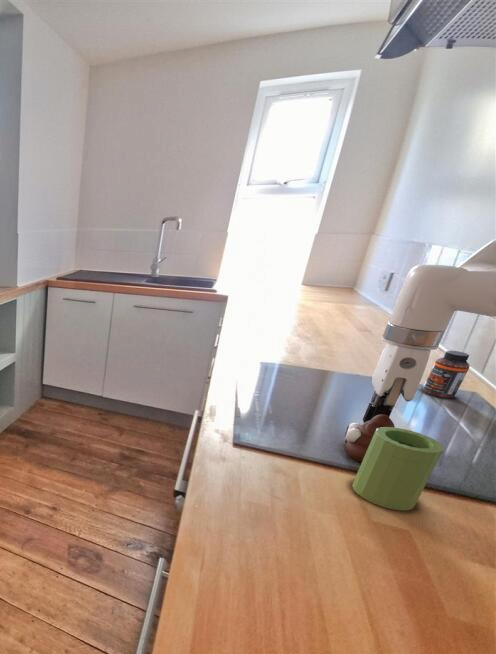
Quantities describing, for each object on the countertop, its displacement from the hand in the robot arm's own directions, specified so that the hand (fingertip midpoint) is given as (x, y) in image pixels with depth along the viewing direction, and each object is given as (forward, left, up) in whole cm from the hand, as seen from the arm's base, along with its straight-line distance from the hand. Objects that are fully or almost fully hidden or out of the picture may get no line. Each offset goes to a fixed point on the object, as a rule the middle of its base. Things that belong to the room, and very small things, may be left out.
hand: (373, 424), depth 82 cm
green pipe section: (+14, +12, -5) cm, 19 cm away
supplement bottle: (-46, -12, -5) cm, 47 cm away
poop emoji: (+4, +3, -5) cm, 7 cm away
